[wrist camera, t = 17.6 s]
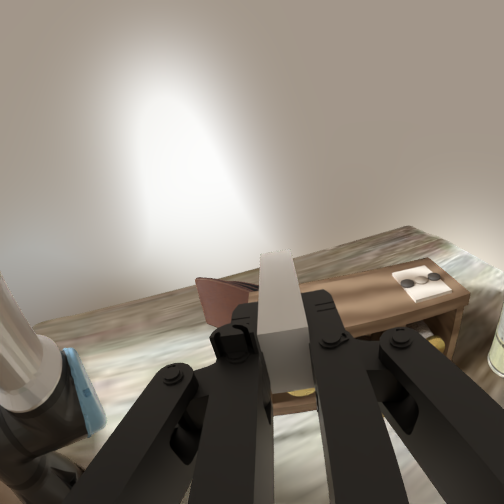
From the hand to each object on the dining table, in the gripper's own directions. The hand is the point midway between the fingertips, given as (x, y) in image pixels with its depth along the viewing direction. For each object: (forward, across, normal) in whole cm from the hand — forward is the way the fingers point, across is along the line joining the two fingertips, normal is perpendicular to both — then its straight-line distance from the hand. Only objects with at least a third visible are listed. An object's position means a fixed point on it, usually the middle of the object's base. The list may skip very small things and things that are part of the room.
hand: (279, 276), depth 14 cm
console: (+22, +10, -32) cm, 40 cm away
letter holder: (+44, -11, -32) cm, 56 cm away
